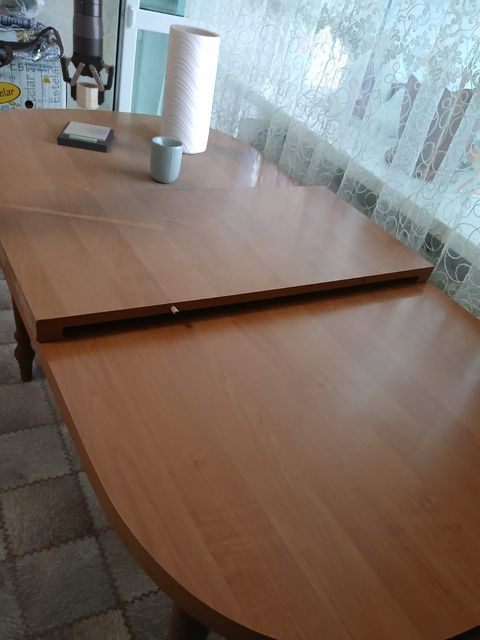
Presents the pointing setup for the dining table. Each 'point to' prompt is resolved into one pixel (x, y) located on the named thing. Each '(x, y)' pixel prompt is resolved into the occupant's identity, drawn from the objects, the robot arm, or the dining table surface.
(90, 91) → the faceted beige tumbler
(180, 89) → the vase
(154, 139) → the cup
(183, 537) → the dining table surface
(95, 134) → the scale
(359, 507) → the dining table surface
